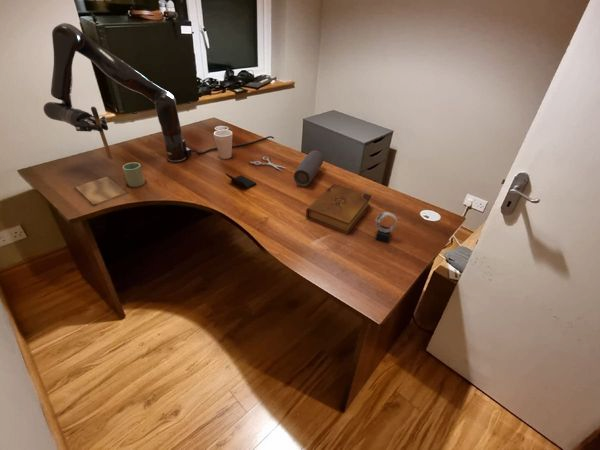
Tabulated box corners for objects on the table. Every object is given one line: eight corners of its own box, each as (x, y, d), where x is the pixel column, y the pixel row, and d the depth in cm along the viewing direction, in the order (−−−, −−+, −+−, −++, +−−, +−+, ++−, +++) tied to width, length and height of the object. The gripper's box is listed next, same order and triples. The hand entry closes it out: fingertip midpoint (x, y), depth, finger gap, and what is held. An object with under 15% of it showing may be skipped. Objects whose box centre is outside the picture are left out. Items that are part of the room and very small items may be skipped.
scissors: (263, 155, 179) (292, 165, 169) (263, 156, 179) (292, 167, 170) (249, 162, 172) (279, 173, 162) (249, 163, 172) (279, 174, 163)
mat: (107, 177, 156) (107, 176, 156) (126, 193, 146) (126, 192, 145) (75, 188, 148) (75, 186, 148) (93, 205, 137) (93, 204, 137)
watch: (373, 230, 130) (378, 207, 123) (394, 235, 128) (400, 212, 121) (370, 238, 126) (375, 215, 119) (391, 244, 124) (398, 220, 117)
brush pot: (140, 177, 157) (135, 160, 151) (148, 183, 153) (143, 166, 147) (125, 183, 152) (119, 165, 147) (132, 189, 148) (127, 171, 143)
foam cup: (238, 155, 179) (235, 132, 171) (226, 161, 173) (223, 138, 165) (225, 150, 183) (222, 128, 175) (213, 156, 177) (209, 133, 169)
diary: (331, 194, 151) (332, 183, 147) (369, 206, 143) (371, 195, 140) (305, 218, 135) (306, 207, 131) (347, 234, 127) (349, 222, 124)
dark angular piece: (258, 179, 156) (247, 168, 147) (252, 192, 154) (241, 183, 146) (240, 175, 161) (228, 165, 153) (234, 188, 160) (221, 179, 151)
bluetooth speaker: (311, 190, 153) (312, 170, 147) (292, 186, 155) (292, 167, 149) (324, 168, 170) (325, 150, 164) (307, 165, 172) (307, 147, 166)
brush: (111, 156, 143) (94, 105, 129) (113, 158, 142) (96, 106, 128) (107, 158, 141) (89, 106, 128) (109, 159, 140) (91, 107, 127)
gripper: (59, 114, 132) (84, 124, 125) (92, 106, 141) (117, 114, 134) (66, 132, 137) (90, 142, 129) (98, 123, 146) (122, 132, 139)
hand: (104, 128), depth 132 cm, fingers closed on brush, 1 cm apart
